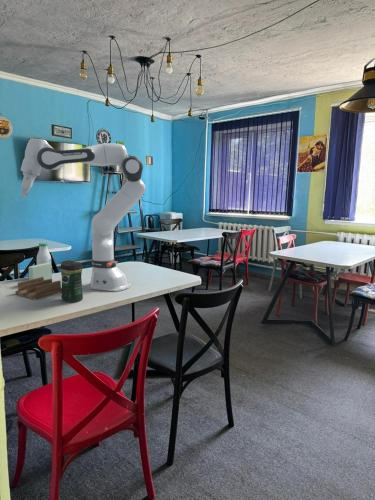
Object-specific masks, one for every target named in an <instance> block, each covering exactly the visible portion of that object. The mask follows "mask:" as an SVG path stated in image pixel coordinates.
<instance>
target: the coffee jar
mask: <svg viewBox="0 0 375 500" xmlns="http://www.w3.org/2000/svg"><path fill="white" fill-rule="evenodd" d="M82 272H83V264H82V263H81V262H79V261H74V260H64V261H62V262H60V273H61V275H60V276H61V288H62V292H60V293H61V300H62V301H66V302H67V303H68V302H69V303H73V302H74V303H75V302H76V303H77V302H78V303H79V302H80V301H81V300H83V298H84V294H83V293H84V292H83V283H82Z"/></svg>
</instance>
